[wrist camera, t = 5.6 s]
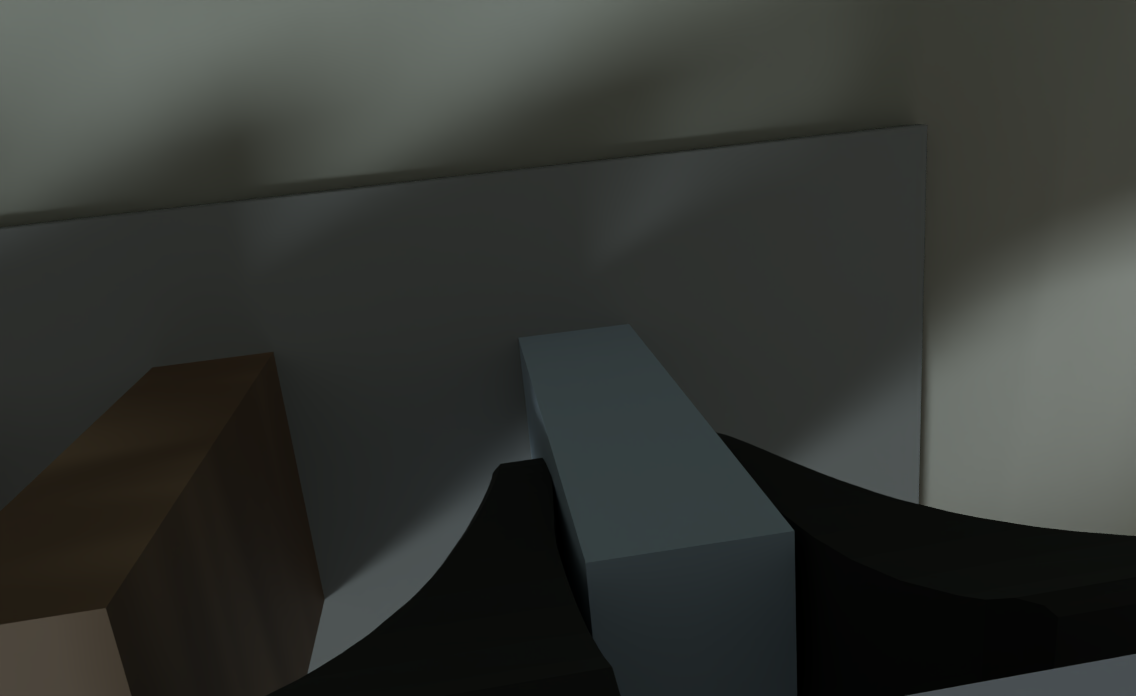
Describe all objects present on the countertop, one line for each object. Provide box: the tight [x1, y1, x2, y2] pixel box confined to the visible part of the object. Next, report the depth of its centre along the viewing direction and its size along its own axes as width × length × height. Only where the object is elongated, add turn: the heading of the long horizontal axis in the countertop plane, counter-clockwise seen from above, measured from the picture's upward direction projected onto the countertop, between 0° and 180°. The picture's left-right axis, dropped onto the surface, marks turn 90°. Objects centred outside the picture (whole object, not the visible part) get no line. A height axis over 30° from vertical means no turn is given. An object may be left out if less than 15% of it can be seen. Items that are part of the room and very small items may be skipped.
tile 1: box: [0, 352, 325, 696], centre depth 11 cm, size 2×4×7 cm, turn 6°
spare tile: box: [518, 324, 797, 696], centre depth 11 cm, size 2×4×7 cm, turn 5°
